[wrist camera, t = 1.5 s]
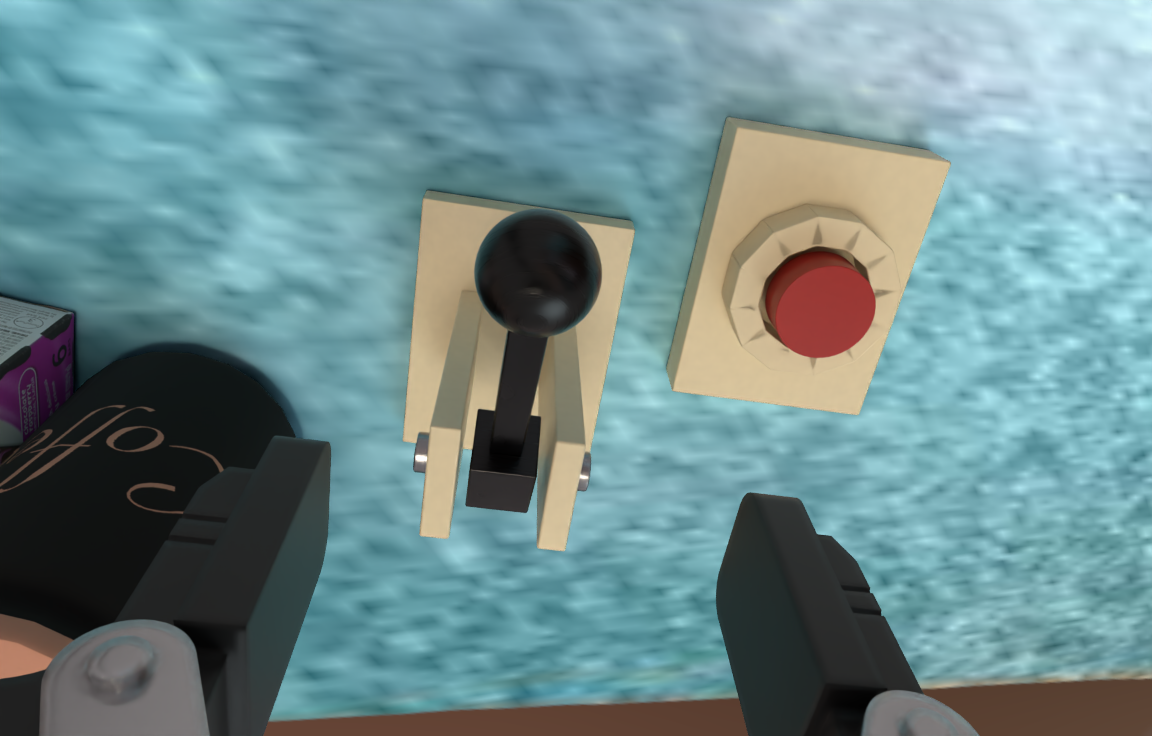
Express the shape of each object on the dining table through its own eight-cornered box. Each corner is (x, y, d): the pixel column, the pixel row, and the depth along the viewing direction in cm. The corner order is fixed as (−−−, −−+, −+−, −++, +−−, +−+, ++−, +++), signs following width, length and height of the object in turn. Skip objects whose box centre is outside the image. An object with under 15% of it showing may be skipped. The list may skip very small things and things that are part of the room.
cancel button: (779, 244, 33) (791, 258, 32) (874, 258, 34) (890, 273, 32) (754, 333, 35) (763, 351, 34) (844, 345, 36) (857, 364, 34)
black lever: (486, 172, 20) (470, 270, 18) (614, 192, 21) (612, 290, 19) (460, 436, 31) (449, 515, 29) (546, 446, 31) (540, 525, 29)
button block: (726, 116, 35) (747, 136, 31) (929, 149, 36) (972, 173, 32) (665, 369, 40) (677, 411, 36) (843, 393, 41) (872, 436, 37)
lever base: (426, 189, 36) (371, 307, 24) (632, 220, 37) (672, 347, 25) (406, 427, 41) (353, 615, 30) (586, 449, 42) (602, 638, 30)
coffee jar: (314, 361, 39) (157, 653, 23) (299, 539, 44) (160, 883, 28) (75, 321, 38) (-269, 601, 22) (86, 508, 42) (-190, 852, 26)
